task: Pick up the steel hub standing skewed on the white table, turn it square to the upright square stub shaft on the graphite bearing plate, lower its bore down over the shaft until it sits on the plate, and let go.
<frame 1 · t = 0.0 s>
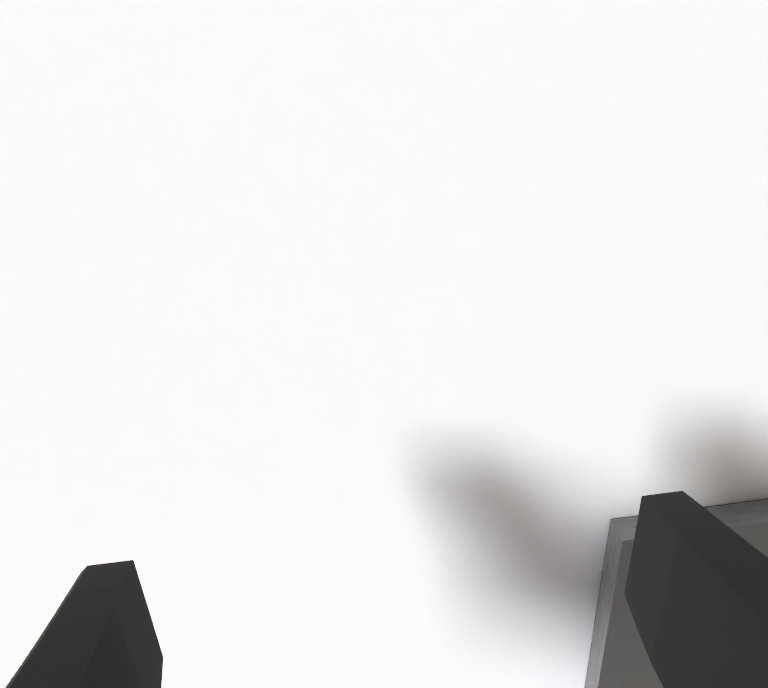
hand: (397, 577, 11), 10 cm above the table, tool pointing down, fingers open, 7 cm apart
bearing plate: (692, 620, 28), on the table
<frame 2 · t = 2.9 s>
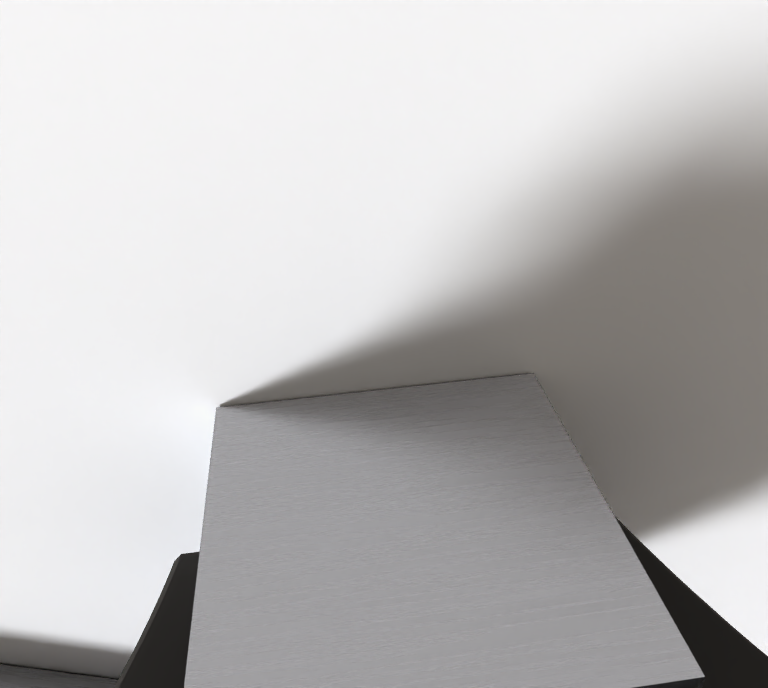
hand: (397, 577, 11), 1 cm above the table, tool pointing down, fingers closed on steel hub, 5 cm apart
steel hub: (384, 509, 12), on the table, touching gripper
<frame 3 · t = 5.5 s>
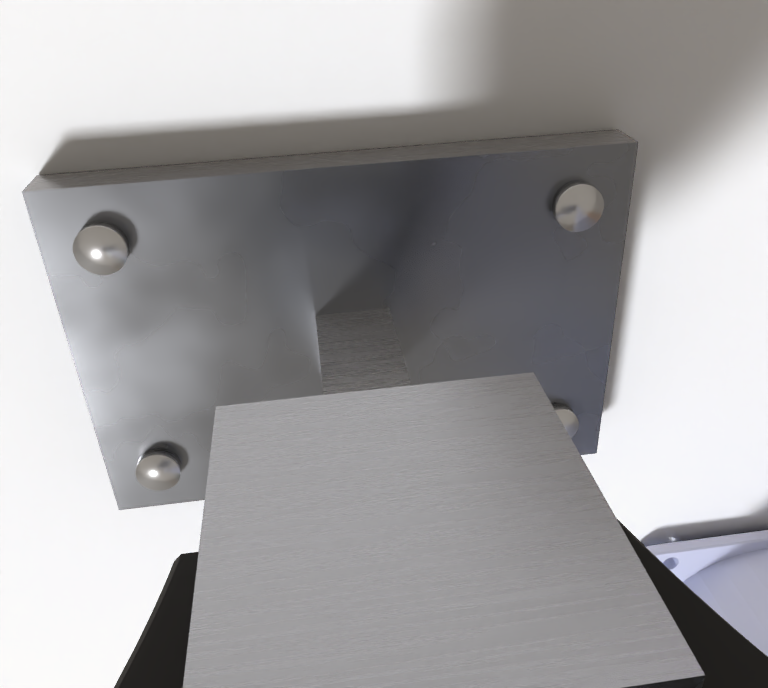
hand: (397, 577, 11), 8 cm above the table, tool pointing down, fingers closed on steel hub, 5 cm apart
bearing plate: (350, 321, 17), on the table
steel hub: (384, 508, 12), point 6 cm above the table, touching gripper
when the fingers open (4 cm above the table, at t = 6.9 s): steel hub drops 1 cm, resting on bearing plate.
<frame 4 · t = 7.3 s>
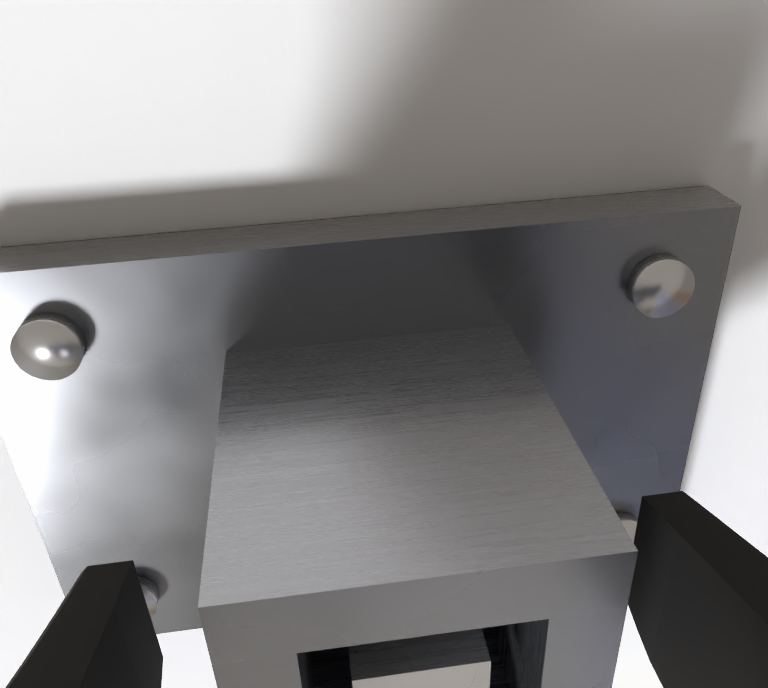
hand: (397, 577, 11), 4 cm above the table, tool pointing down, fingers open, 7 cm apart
bearing plate: (367, 417, 14), on the table
steel hub: (375, 450, 13), point 1 cm above the table, touching bearing plate
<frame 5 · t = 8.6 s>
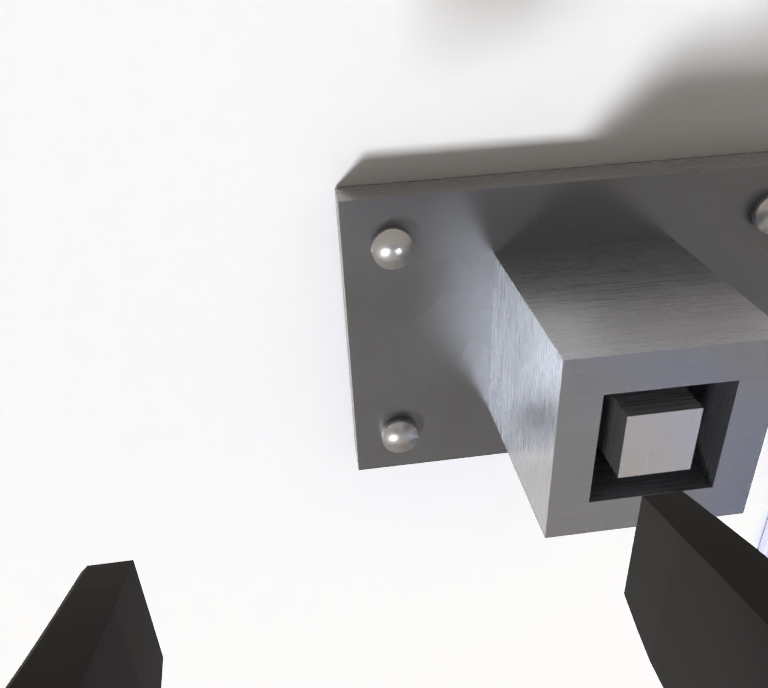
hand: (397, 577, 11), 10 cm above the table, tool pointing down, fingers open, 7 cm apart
bearing plate: (562, 309, 20), on the table
steel hub: (576, 327, 19), point 1 cm above the table, touching bearing plate
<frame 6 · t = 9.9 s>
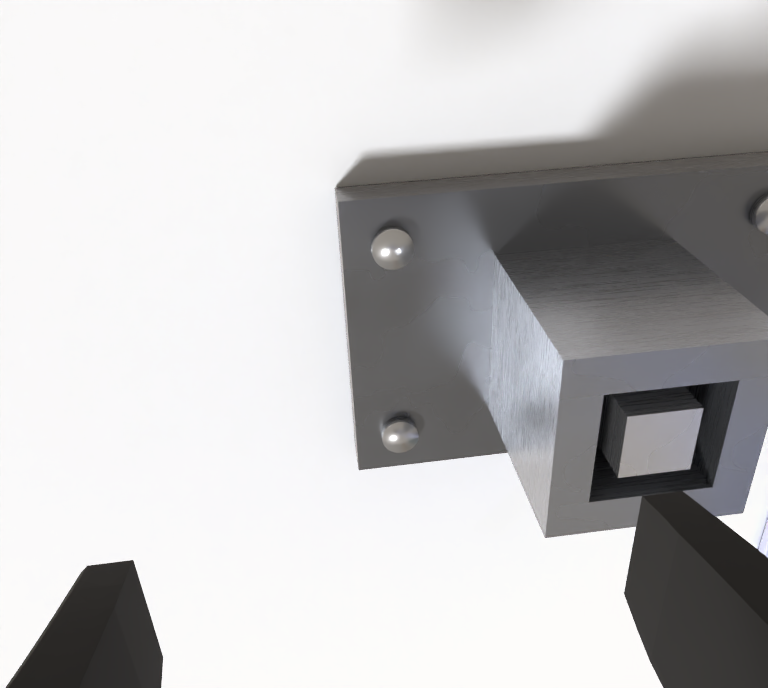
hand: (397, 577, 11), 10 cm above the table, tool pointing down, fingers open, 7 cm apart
bearing plate: (562, 309, 20), on the table
steel hub: (576, 327, 19), point 1 cm above the table, touching bearing plate
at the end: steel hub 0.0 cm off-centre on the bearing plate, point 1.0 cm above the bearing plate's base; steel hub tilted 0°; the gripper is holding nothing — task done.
